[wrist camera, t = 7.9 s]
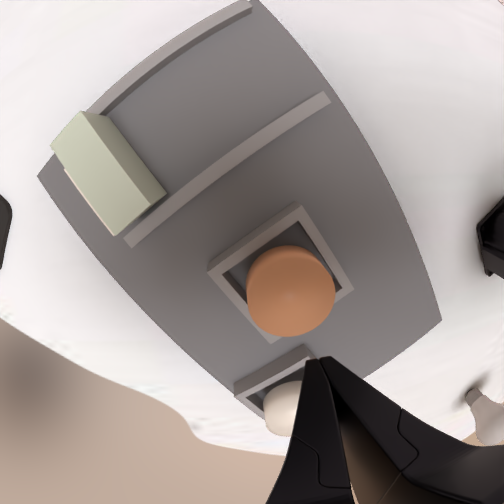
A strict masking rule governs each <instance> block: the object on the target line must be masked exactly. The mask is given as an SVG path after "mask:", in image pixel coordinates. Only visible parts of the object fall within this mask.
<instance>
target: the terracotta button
mask: <svg viewBox="0 0 504 504" xmlns="http://www.w3.org/2000/svg"><path fill="white" fill-rule="evenodd" d="M246 294H247V303H248V309H249V313H250V315H251V317H252V319H253V321H254V322H255V323H256V325H257V326H258V327H260V328H261V329H262V330H264V331H265V332H267V333H270V334H272V335H276V336H282V337H292V336H298V335H301V334H305V333H307V332H309V331H311V330H313V329H314V328H316V327H317V326H319V325H320V324H321V323H322V322H323V321H324V320H325V319H326V318H327V316H328V315H329V313H330V311H331V309H332V307H333V305H334V301H335V285H334V282H333V279H332V277H331V275H330V274H329V273H328V271H327V270H326V269H325V267H324V266H323V265H322V264H321V262H320V261H319V260H318V258H317V257H316V256H315V255H314V254H313V253H311V252H310V251H308V250H307V249H305V248H302V247H299V246H293V245H284V246H278V247H275V248H272V249H270V250H268V251H266V252H264V253H263V254H262V255H260V256H259V257H258V258H257V259H256V260H255V261H254V263H253V264H252V265H251V267H250V269H249V271H248V274H247V278H246Z"/></svg>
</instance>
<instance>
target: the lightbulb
mask: <svg viewBox="0 0 504 504" xmlns="http://www.w3.org/2000/svg"><path fill="white" fill-rule="evenodd" d="M466 402H467V403H468V405H469V406H470V408H471V412H472V414H473V416H474V418H475V422H476V435H477V438H478V440H479V441H480V442H481V443H482V444H484V445H495V444H498V443H500V442H501V441H502V440H503V439H504V405H503V404H500V403H496V402H493V401H491V400H490V399H489V398H488V397H487V396H486V395H483V394H482V393H481V392H480V391H479V390H478V389H473V390H470V391H469V392H468V393H467V397H466Z"/></svg>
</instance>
